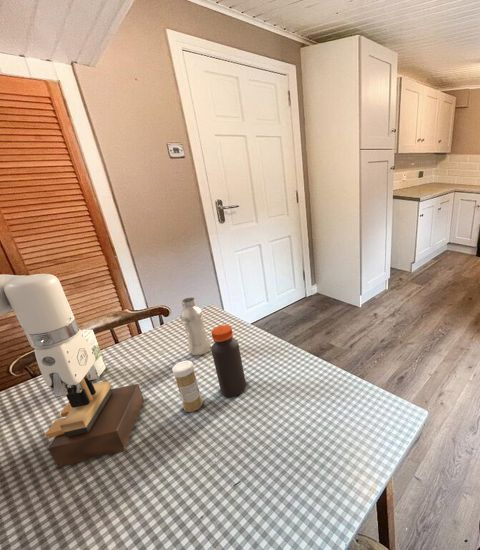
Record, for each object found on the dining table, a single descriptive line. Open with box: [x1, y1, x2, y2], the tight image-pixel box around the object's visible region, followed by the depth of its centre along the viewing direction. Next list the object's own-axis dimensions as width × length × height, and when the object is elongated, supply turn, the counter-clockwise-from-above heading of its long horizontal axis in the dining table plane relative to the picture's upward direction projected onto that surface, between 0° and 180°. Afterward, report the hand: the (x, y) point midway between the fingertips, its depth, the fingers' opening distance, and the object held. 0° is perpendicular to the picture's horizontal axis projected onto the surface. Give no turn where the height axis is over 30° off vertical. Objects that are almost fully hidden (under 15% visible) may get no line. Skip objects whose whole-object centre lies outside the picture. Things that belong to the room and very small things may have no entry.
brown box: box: [47, 383, 145, 469], centre depth 73 cm, size 13×16×6 cm
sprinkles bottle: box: [171, 360, 204, 413], centre depth 79 cm, size 5×5×14 cm
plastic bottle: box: [179, 297, 211, 356], centre depth 100 cm, size 6×7×20 cm
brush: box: [60, 378, 113, 437], centre depth 70 cm, size 13×4×10 cm, turn 19°
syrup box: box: [80, 329, 107, 381], centre depth 90 cm, size 6×6×14 cm
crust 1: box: [44, 417, 66, 439], centre depth 68 cm, size 4×4×1 cm
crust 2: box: [60, 402, 72, 418], centre depth 73 cm, size 4×4×1 cm
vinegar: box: [210, 324, 247, 398], centre depth 84 cm, size 7×7×20 cm
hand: (84, 399), depth 70 cm, fingers closed on brush, 2 cm apart
